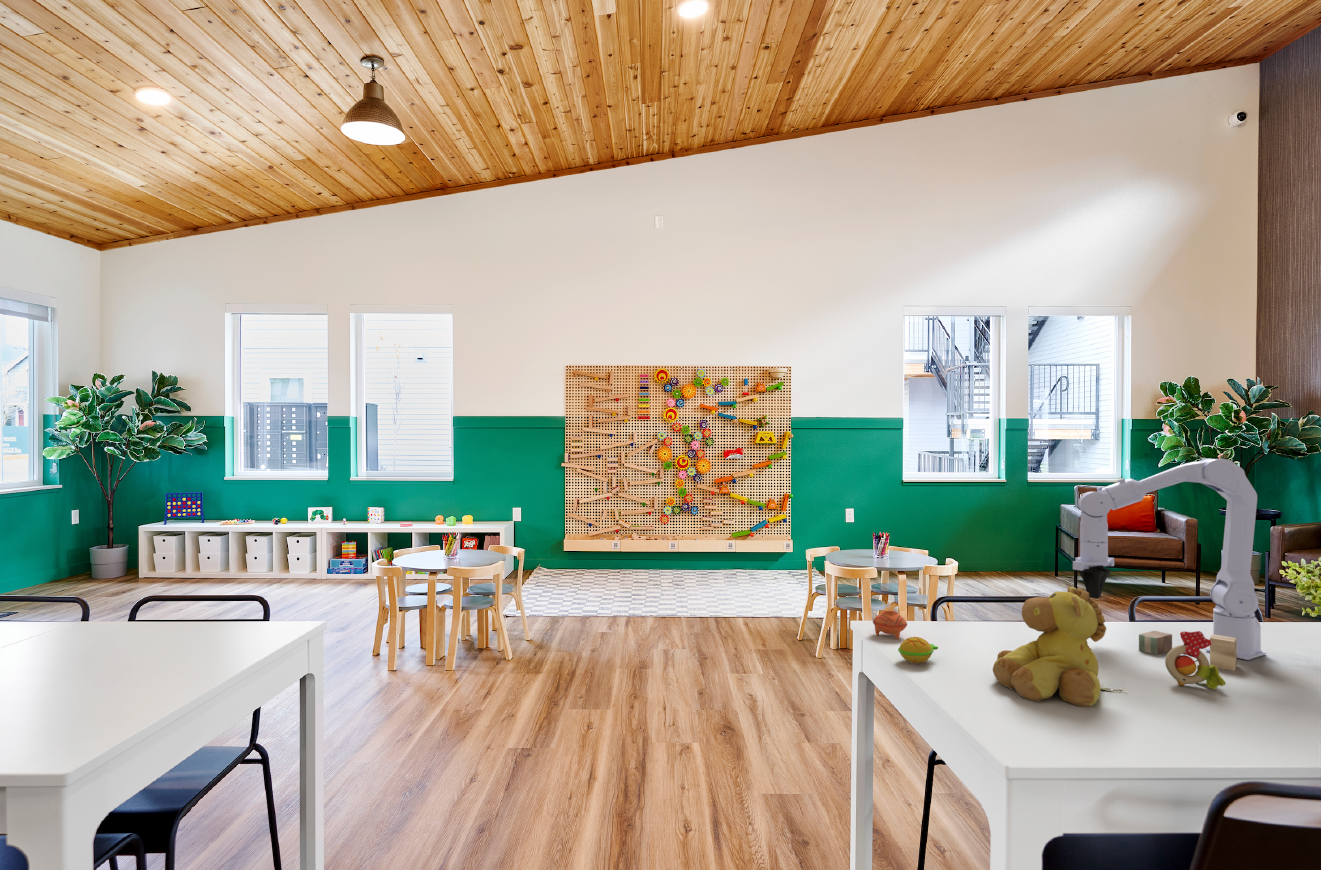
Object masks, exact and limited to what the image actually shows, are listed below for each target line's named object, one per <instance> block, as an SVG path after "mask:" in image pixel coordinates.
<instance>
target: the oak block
mask: <svg viewBox="0 0 1321 870" xmlns="http://www.w3.org/2000/svg"><path fill="white" fill-rule="evenodd" d="M1209 640H1211V645H1210V646H1209V648H1210V652H1209V665H1210V666H1211V665H1215V666H1216V667H1217V668H1218V669H1223V670H1228V671H1229V670H1230V671H1236V669H1237V666H1238V658H1237V638H1233V637H1226V636H1220V635H1213V634H1211V636H1210V637H1209Z"/></svg>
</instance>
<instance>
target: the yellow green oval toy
mask: <svg viewBox="0 0 1321 870" xmlns="http://www.w3.org/2000/svg"><path fill="white" fill-rule="evenodd" d="M938 649H939V647H938V646H937V645H934V644H932V643H929V642H928V641H927V640H926V639H924V638H922V637H919V636H910V637H908V638H905V639H904V640H903V641H902V642H901V643H900V645H899V646H898V649H897V651H898V652H899V654H900V656H901V657H902V658H903V660H905V661H906V662H909V663H910V664H916V665H918V664H923V663H925V662H927V661H928V660H929V659H930V658H931V657H932V655H933V654H934V650H935V651H936V650H938Z"/></svg>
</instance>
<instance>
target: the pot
mask: <svg viewBox="0 0 1321 870" xmlns="http://www.w3.org/2000/svg"><path fill="white" fill-rule="evenodd" d="M872 623H873V625H874V632H875V635H877V636H879V635H880V632H881V633H884V634H886V635H894V637H895V640H899V639H900V636H901V633H902V631H904V630H906V628H907V626H908V622H907V620H906V619H905V618H904V617H903V616H902V615H901V614H899V613H898V611H896V610H882V611H881V612H880V613H879V614H877V615H875V617H874V618H873V619H872Z"/></svg>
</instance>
